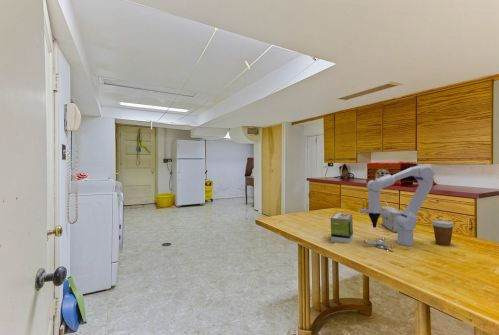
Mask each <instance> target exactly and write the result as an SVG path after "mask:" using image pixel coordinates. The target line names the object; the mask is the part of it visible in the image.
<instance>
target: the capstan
mask: <svg viewBox="0 0 499 335" xmlns="http://www.w3.org/2000/svg"><path fill="white" fill-rule="evenodd" d="M385 240H386V238H385V237H381V238H375V240H366V239H365V240H364V241H363V244H374V245H375V247H376V248H377V249H380V250H386V249H387V250H388V248H390V249H391V250H392V249H394V248H395V246H394V245H393V244H390V243H388V242H385Z"/></svg>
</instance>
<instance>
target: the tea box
mask: <svg viewBox="0 0 499 335" xmlns="http://www.w3.org/2000/svg"><path fill="white" fill-rule="evenodd" d="M330 233H331V234H330V240H331V241H330V242H331V243H332V244H335V243H336V242H337V243H346V244H350V242H352V240H353V237H354V228H353V213H344V212H335V213H334V214H333V215H332V216H331V217H330Z"/></svg>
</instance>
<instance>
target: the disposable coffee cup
mask: <svg viewBox="0 0 499 335" xmlns="http://www.w3.org/2000/svg"><path fill="white" fill-rule="evenodd" d="M431 224H432V228H433V233H434V239H435V243H436V244H437V245H440V246H451V242H452V237H453V230H454V227H455V225H454V222H453V221H450V220H443V219H434V220H432V223H431Z"/></svg>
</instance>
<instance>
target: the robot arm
mask: <svg viewBox="0 0 499 335" xmlns="http://www.w3.org/2000/svg"><path fill="white" fill-rule="evenodd" d="M434 175H435V172H434V169H433V168H432V167H431V166H428V165H415V166H410V167H409V168H406V169H404V170H401V171H398V172H397V173H394V174H393V175H391V174H384V175H383V176H380V177H375V179H371V180H369V181H368V182H367V183H366V185H365V186H366V189H367V190H368V195H367V196H368V199H367V200H368V208H367V209H366V208H359V214H368V217H369V218H370V221H371V223H372V227H373V228H377V224H378V220H379V218H380V216H382V215H389V216H390V211H383V210H381V190H383V189H384V188H387V187H389V186H393V185H394V184H395V182H396V181H399V180H402V179H404V178H409V177H414V179H415V180H416V181H417V183H418V186H417V188H416V190H415V192H414V193H413V194H412V197H411V199H410V201H409V202H408V204H407V206H406V208H405V209H404V210H402V212H401V214H400V215H399V216H397V217H396V219H395V222H396V224H397V225H398V227H397V228H398V232H397V244H399V245H401V246H402V245H403V246H408V247H410V246H411V247H412V246H414V229H416V227H417V221H418V216H417V214H418V213H419V211H420V209H421V207H422V205H423V203H424V202H425V200H426V198H427V197H428V195H429V193H430V191H431V189H432V187H433V186H434Z"/></svg>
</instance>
